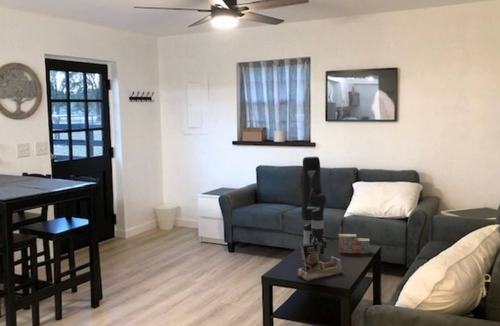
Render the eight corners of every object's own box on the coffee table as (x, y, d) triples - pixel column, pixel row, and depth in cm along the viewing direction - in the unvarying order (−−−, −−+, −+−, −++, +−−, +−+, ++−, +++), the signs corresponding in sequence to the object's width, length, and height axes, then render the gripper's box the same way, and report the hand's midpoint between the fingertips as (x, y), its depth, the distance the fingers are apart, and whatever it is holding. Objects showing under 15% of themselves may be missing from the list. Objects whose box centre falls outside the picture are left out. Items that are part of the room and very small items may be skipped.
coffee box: (307, 273, 284) (303, 246, 283) (303, 270, 290) (299, 245, 290) (321, 270, 286) (317, 243, 286) (317, 268, 292) (313, 242, 292)
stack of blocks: (369, 251, 335) (369, 234, 334) (369, 253, 329) (369, 236, 328) (338, 250, 339) (338, 233, 338) (338, 252, 333) (338, 235, 332)
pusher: (315, 271, 294) (315, 260, 293) (317, 270, 295) (317, 259, 294) (322, 274, 288) (322, 263, 287) (324, 274, 288) (324, 263, 287)
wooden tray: (297, 275, 290) (297, 263, 289) (331, 267, 302) (331, 255, 301) (307, 280, 281) (307, 267, 280) (341, 272, 293) (341, 260, 292)
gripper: (305, 225, 292) (306, 250, 294) (319, 230, 279) (319, 256, 281) (315, 223, 295) (315, 248, 297) (329, 228, 283) (329, 254, 285)
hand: (317, 252), depth 289 cm, fingers open, 8 cm apart
